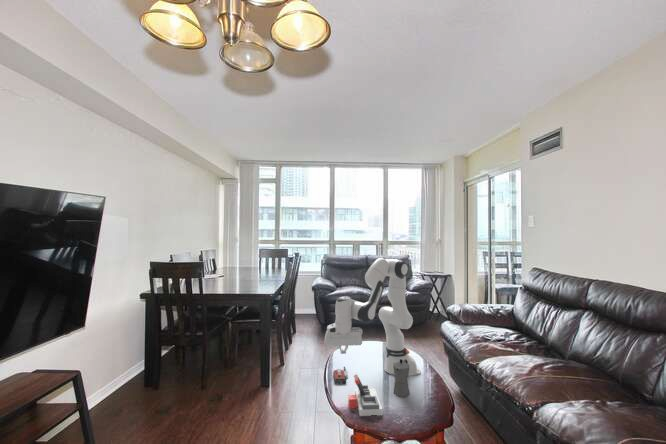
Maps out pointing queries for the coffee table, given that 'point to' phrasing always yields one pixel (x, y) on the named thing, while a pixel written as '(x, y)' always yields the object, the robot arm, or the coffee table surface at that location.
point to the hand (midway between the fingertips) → (343, 353)
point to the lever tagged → (359, 386)
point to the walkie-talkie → (340, 376)
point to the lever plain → (358, 379)
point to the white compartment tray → (368, 402)
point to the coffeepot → (401, 378)
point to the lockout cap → (352, 401)
